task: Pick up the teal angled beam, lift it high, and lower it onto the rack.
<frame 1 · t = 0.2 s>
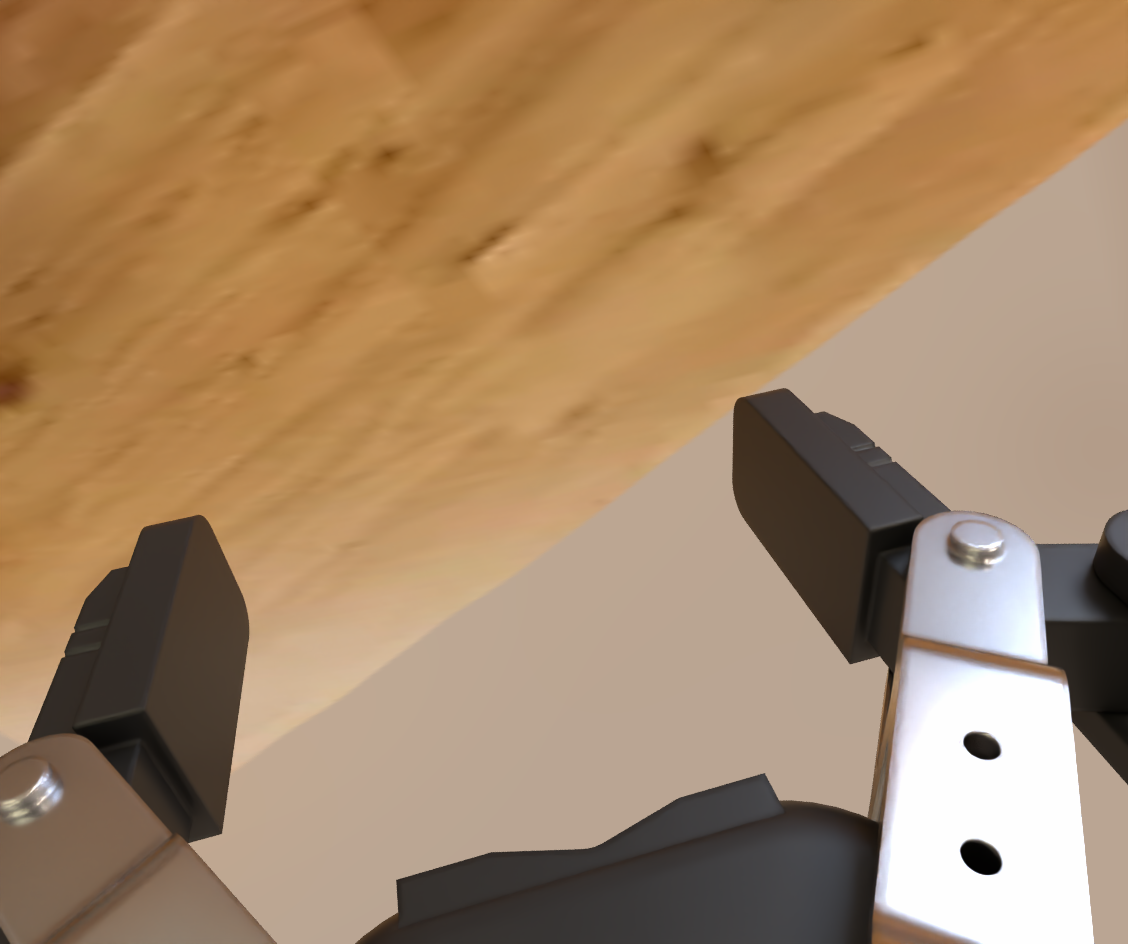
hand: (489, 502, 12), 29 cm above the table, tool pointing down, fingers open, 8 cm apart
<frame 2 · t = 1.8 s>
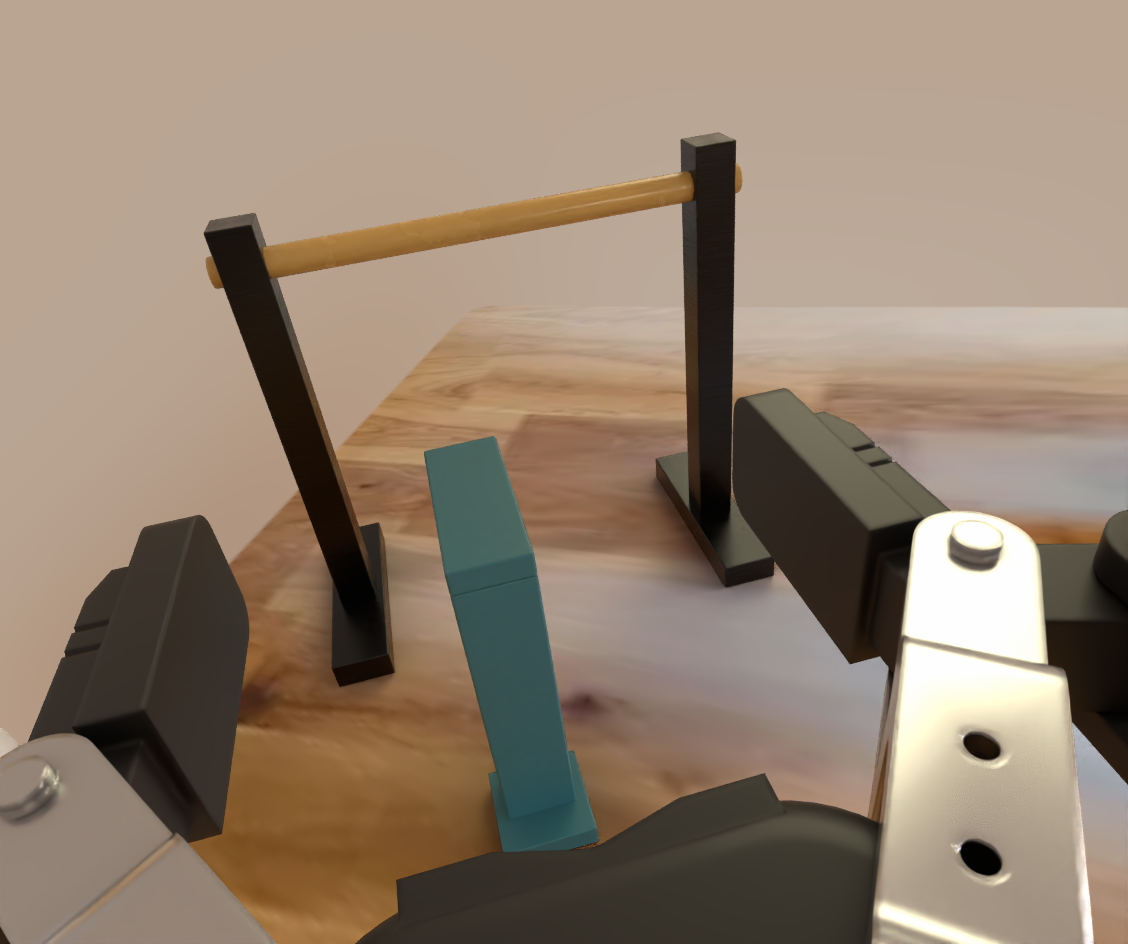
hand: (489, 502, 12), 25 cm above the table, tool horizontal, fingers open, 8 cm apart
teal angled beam: (540, 803, 35), on the table
eye dropper bottle: (60, 884, 34), on the table
rack: (542, 562, 48), on the table
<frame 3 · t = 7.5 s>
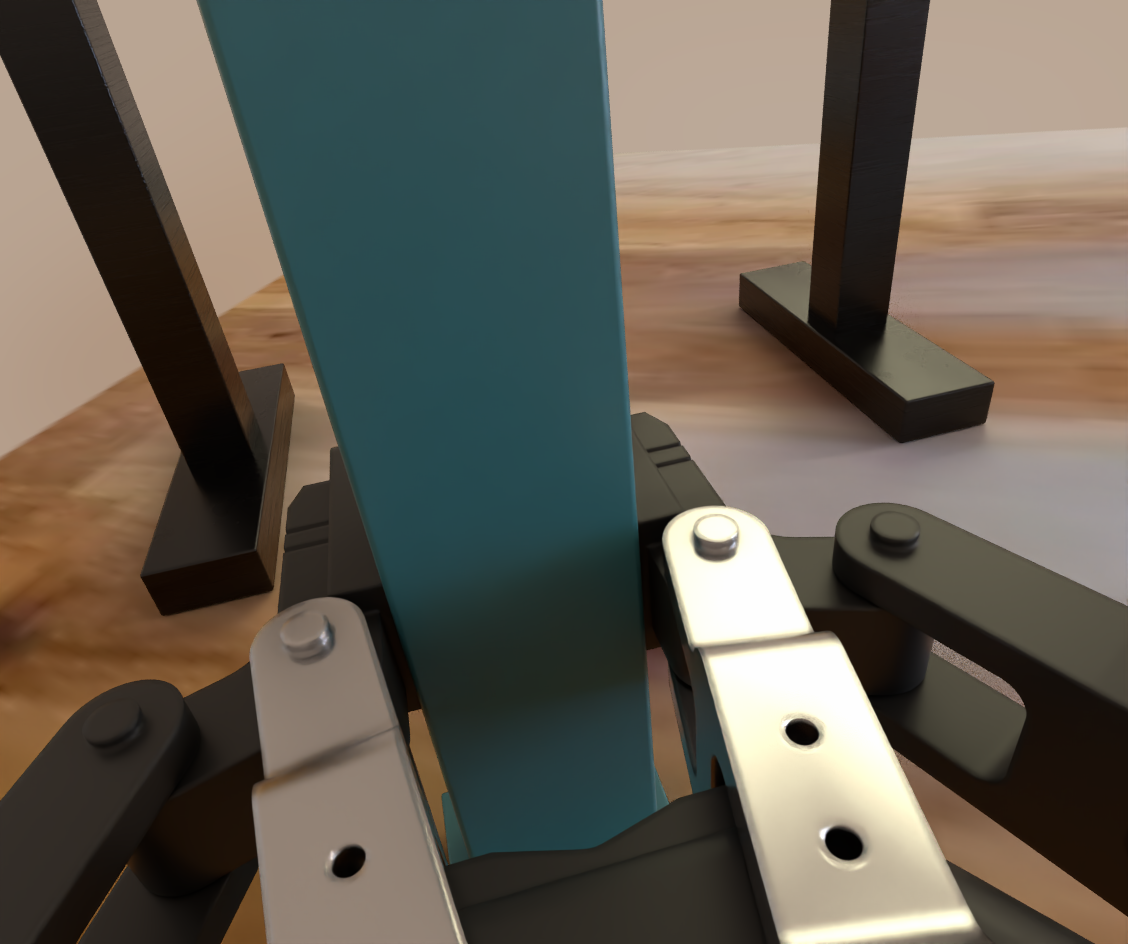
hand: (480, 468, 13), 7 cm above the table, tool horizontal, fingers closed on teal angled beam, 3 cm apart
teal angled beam: (567, 866, 14), on the table, touching gripper
rack: (558, 416, 28), on the table
when the fingers open (15 cm above the table, at t = 18.7 s): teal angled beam moves 7 cm, resting on rack.
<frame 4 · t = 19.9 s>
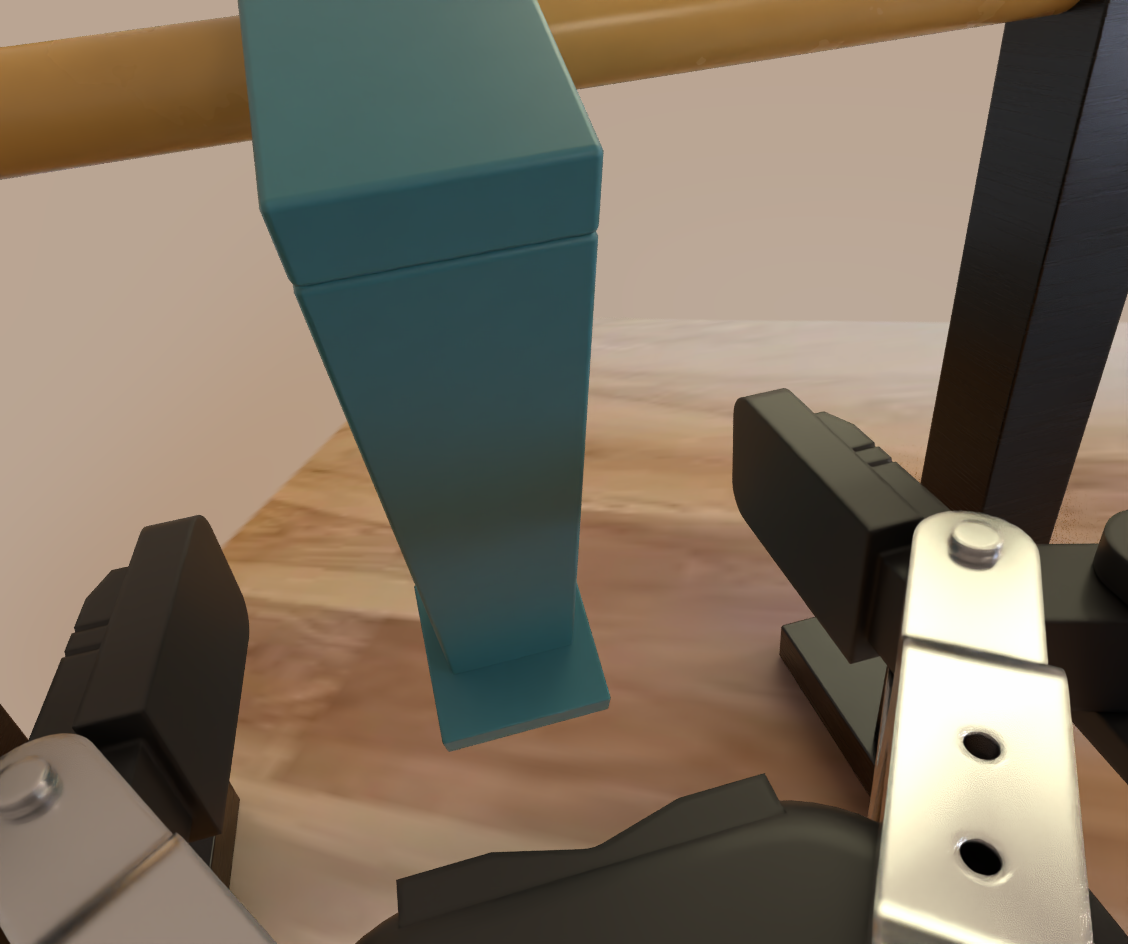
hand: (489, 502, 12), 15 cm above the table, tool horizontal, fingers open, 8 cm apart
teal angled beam: (506, 633, 20), point 8 cm above the table, tilted 27°, touching rack
rack: (563, 891, 22), on the table
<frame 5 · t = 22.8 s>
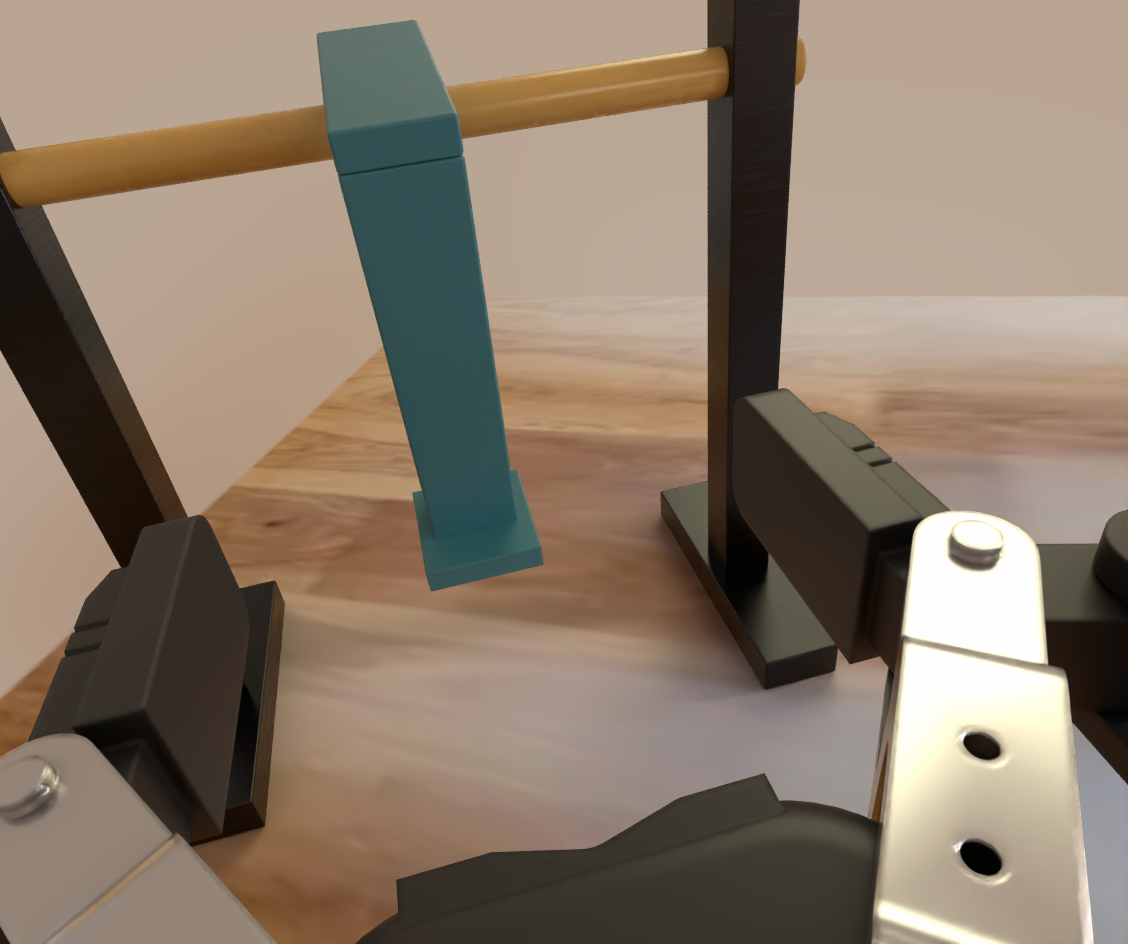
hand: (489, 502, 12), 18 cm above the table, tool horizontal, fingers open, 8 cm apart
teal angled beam: (475, 526, 29), point 7 cm above the table, tilted 11°, touching rack
rack: (499, 642, 34), on the table
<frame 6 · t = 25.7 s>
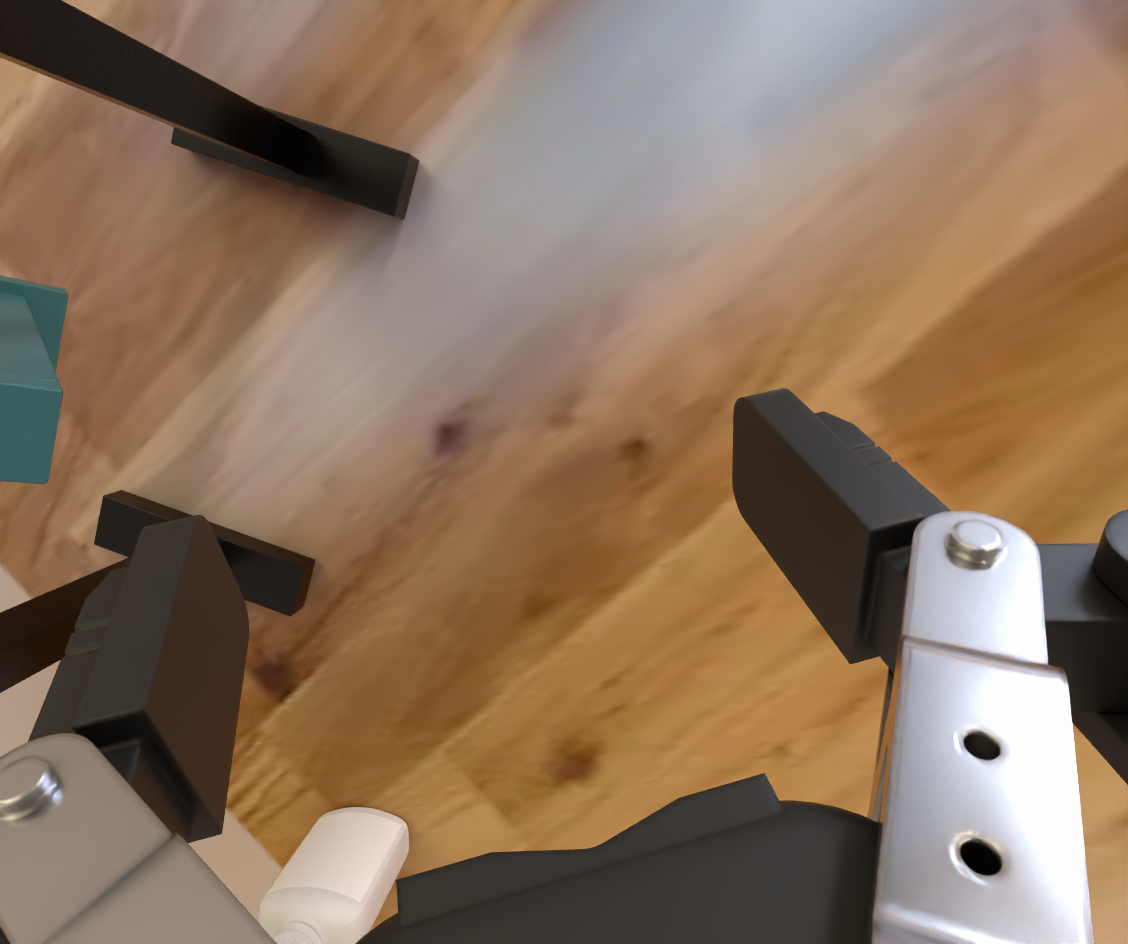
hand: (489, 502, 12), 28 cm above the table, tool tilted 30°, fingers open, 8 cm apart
eye dropper bottle: (367, 829, 47), on the table
rack: (254, 362, 42), on the table
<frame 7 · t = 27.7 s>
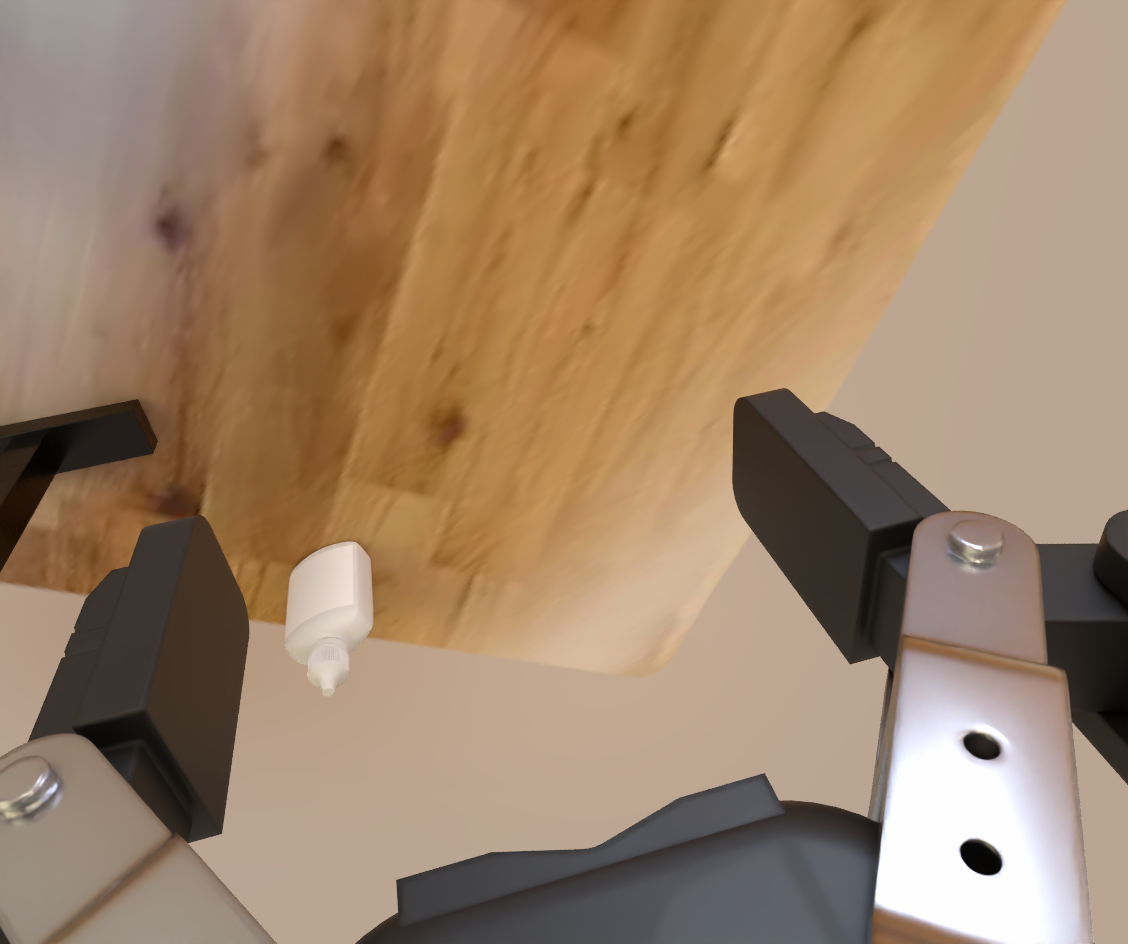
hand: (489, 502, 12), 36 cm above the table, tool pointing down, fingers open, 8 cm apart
eye dropper bottle: (330, 563, 56), on the table
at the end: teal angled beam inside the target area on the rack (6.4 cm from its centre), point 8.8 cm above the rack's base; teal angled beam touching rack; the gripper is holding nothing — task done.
